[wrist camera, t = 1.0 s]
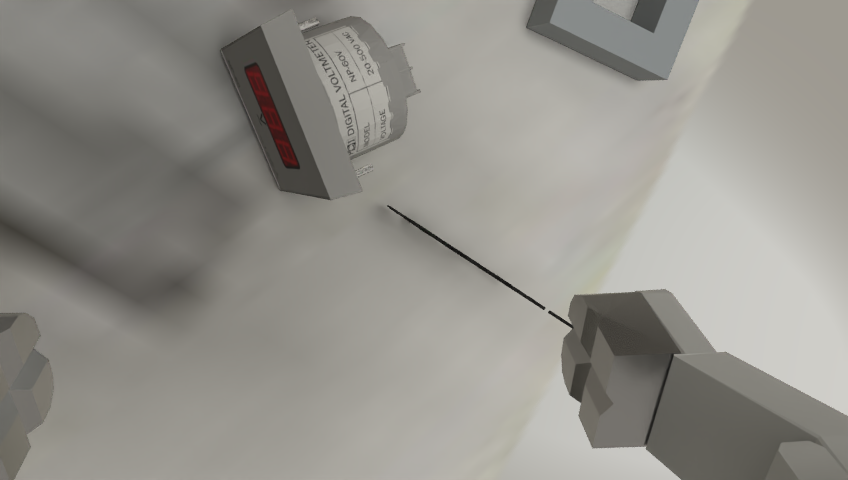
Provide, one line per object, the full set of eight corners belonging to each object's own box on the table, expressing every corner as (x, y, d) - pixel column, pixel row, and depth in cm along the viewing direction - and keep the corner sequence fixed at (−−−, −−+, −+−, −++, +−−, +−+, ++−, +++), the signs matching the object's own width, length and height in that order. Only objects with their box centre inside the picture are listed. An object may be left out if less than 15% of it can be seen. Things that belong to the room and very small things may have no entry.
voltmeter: (172, 123, 42) (159, 132, 32) (271, -32, 41) (287, -67, 32) (491, 320, 51) (552, 370, 42) (573, 195, 51) (653, 218, 41)
